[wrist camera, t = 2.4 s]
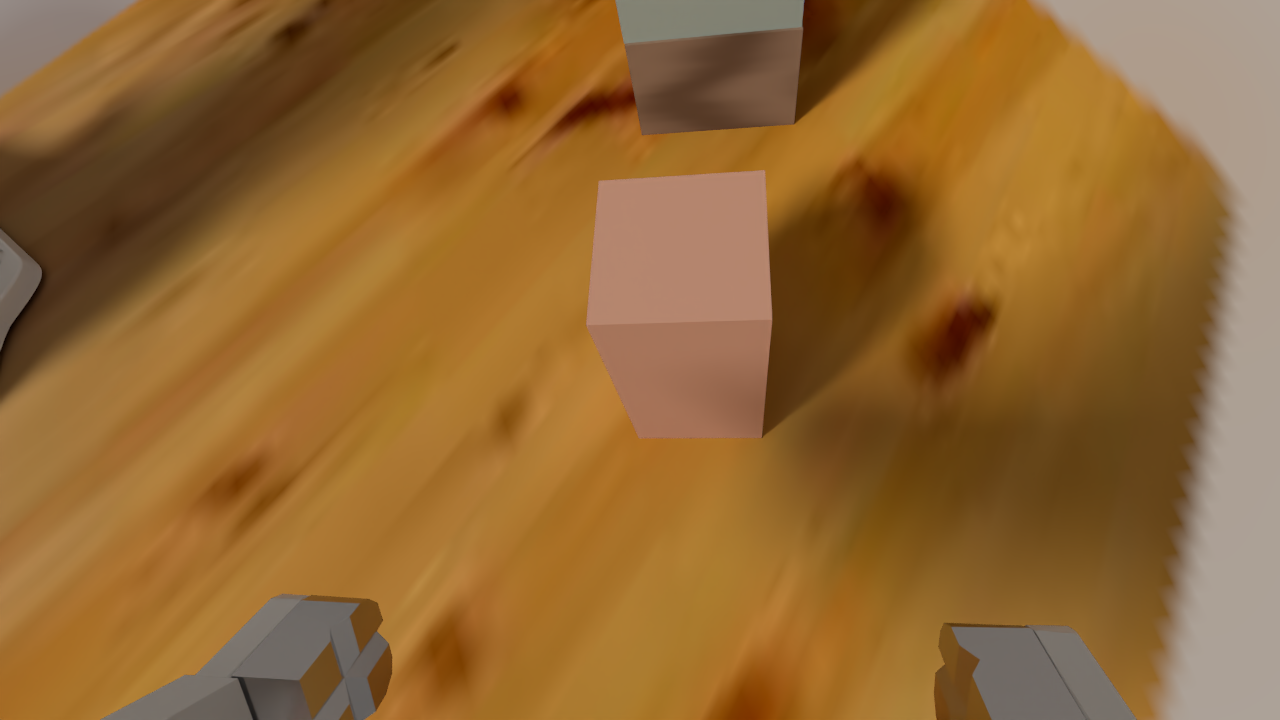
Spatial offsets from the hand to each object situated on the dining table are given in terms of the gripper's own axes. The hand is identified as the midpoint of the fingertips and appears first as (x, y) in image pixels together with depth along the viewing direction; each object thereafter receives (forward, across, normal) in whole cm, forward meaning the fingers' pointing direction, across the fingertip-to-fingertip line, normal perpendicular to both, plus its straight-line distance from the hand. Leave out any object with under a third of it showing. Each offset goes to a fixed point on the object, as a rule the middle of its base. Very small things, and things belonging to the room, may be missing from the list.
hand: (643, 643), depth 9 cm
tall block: (+15, 0, +2) cm, 16 cm away
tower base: (+27, -1, -9) cm, 29 cm away
